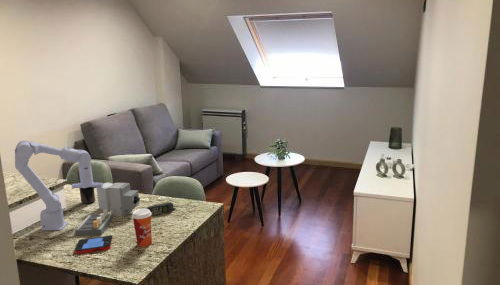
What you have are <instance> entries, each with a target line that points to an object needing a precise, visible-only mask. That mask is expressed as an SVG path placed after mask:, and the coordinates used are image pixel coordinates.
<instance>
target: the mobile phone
mask: <svg viewBox="0 0 500 285" xmlns="http://www.w3.org/2000/svg"><path fill="white" fill-rule="evenodd" d="M146 209H149V210H150V212H151V213H152V214H151V217H152V216H157V215H161V214H162V215H163V214H167V213H170V212H172V211H175V210H176V209H177V208H176V207H174V204H173V202H171V201H169V202H163V203H159V204H158V203H157V204H154V205H150V206H147V207H146Z"/></svg>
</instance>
